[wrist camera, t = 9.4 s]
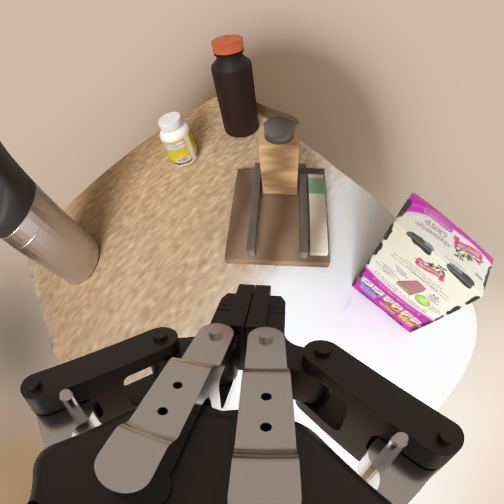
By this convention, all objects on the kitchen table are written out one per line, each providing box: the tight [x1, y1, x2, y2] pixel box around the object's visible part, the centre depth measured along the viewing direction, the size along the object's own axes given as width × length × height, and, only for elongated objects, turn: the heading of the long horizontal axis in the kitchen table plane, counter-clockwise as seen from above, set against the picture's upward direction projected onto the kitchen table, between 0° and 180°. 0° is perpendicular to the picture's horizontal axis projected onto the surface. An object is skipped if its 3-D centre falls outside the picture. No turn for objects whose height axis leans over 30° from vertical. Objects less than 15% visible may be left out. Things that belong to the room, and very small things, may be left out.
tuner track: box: [225, 163, 329, 267], centre depth 39 cm, size 14×16×4 cm
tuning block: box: [258, 117, 324, 195], centre depth 35 cm, size 9×4×12 cm, turn 85°
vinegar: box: [211, 35, 259, 137], centre depth 41 cm, size 7×7×20 cm
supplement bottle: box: [158, 112, 198, 166], centre depth 44 cm, size 5×5×10 cm
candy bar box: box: [352, 193, 493, 332], centre depth 26 cm, size 11×5×16 cm, turn 47°
